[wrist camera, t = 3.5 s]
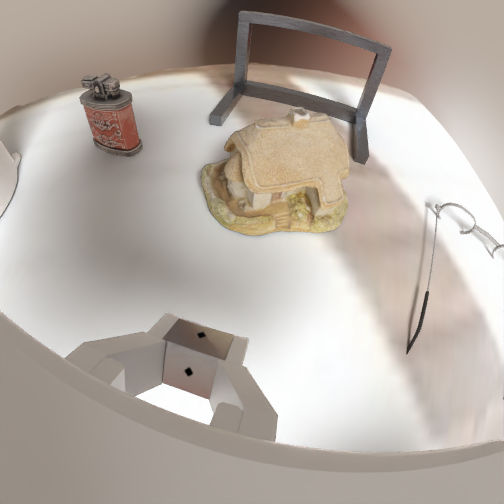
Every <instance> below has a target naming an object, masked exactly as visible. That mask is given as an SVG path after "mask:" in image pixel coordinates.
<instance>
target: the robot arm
mask: <svg viewBox="0 0 504 504" xmlns="http://www.w3.org/2000/svg"><path fill="white" fill-rule="evenodd" d="M20 159H21V157H20V155H19V154H18V153H11V154H9V153H8V151H7V149H6V148H5V146H4V145H3V143H2V142H1V140H0V216H1V215H2V213H3V212H4V210H5V209H6V207H7V205H8V203H9V201H10V199H11V197H12V195H13V193H14V190H15V187H16V184H17V167H18V165H19V162H20ZM248 343H249V339H248V338H244V337H240V336H236V335H235V336H234V335H232V334H229V333H225V332H222V331H218V330H215V329H211V328H208V327H206V326H203V325H200V324H198V323H195V322H192V321H189V320H186V319H184V318H180V317H179V316H176V315H173V314H170V313H166V314H164V315H163V317H162V318H161V319H160V320H159V321H158V322H157V323H156V324H155V325H154V326H153V327H152V328H151V329H150V330H149V331H148V332H147V333H145V332H139V333H134V334H129V335H124V336H118V337H113V338H107V339H102V340H96V341H90V342H84V343H83V344H81V345H80V346H79V347H78V348H76V349H75V350H74V351H73V352H72V353H70V354H69V355H68V356H67V357H66V358H63V357H61V356H59V355H58V354H56V353H55V352H53V351H52V350H50V349H49V348H47V347H46V346H45V345H43V344H42V343H40V342H39V341H38V340H36V339H35V338H33V337H32V336H31V335H29V334H28V333H27V332H25V331H24V330H23V329H22V328H20V327H19V326H18V325H17V324H15V323H14V322H13V321H12V320H10V319H9V318H8V317H7V316H6V315H4V314H3V313H2V312H1V311H0V504H504V441H502V440H499V439H497V440H491V441H486V442H482V443H477V444H472V445H467V446H461V447H454V448H447V449H439V450H429V451H416V452H390V453H376V452H350V451H336V450H326V449H316V448H308V447H301V446H295V445H289V444H283V443H278V442H275V439H276V429H277V419H278V415H277V413H276V412H275V410H274V409H273V407H272V406H271V404H270V403H269V401H268V400H267V398H266V397H265V395H264V394H263V392H262V391H261V389H260V388H259V386H258V385H257V383H256V382H255V380H254V379H253V377H252V376H251V374H250V372H249V371H248V369H247V368H246V367H244V366H242V364H243V361H244V357H245V353H246V350H247V346H248ZM162 383H164V384H167V385H170V386H173V387H176V388H178V389H181V390H184V391H187V392H190V393H192V394H195V395H198V396H200V397H203V398H206V399H209V401H210V404H211V407H212V410H213V413H214V415H213V418H212V421H211V423H210V425H207V424H203V423H200V422H197V421H194V420H191V419H189V418H186V417H183V416H180V415H177V414H175V413H172V412H170V411H167V410H164V409H162V408H159V407H157V406H155V405H152V404H150V403H147V402H145V401H143V400H141V399H138V398H136V397H134V396H136V395H139V394H141V393H143V392H145V391H147V390H149V389H152V388H154V387H156V386H158V385H160V384H162Z"/></svg>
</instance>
